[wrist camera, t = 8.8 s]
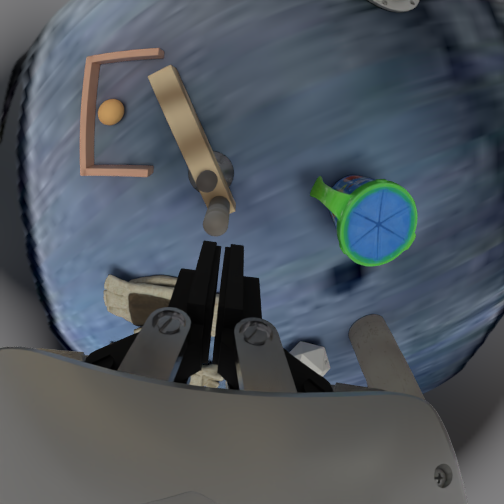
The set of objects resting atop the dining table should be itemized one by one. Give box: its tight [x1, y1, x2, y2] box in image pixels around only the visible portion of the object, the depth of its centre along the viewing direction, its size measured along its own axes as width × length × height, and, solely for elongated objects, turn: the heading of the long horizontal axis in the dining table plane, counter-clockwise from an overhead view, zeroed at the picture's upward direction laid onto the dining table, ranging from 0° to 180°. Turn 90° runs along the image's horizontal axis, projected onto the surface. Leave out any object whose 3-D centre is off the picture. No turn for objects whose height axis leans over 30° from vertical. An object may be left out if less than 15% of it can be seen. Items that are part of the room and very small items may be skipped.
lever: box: [148, 65, 236, 236], centre depth 28 cm, size 20×3×9 cm, turn 21°
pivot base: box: [188, 151, 234, 192], centre depth 35 cm, size 6×6×1 cm
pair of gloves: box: [104, 274, 224, 388], centre depth 48 cm, size 30×26×5 cm
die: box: [289, 341, 330, 377], centre depth 49 cm, size 8×9×10 cm
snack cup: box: [310, 175, 417, 266], centre depth 33 cm, size 16×10×10 cm
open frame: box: [80, 48, 164, 177], centre depth 29 cm, size 17×10×2 cm, turn 173°
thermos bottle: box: [349, 314, 425, 400], centre depth 38 cm, size 8×8×28 cm
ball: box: [98, 99, 124, 125], centre depth 29 cm, size 4×4×4 cm
